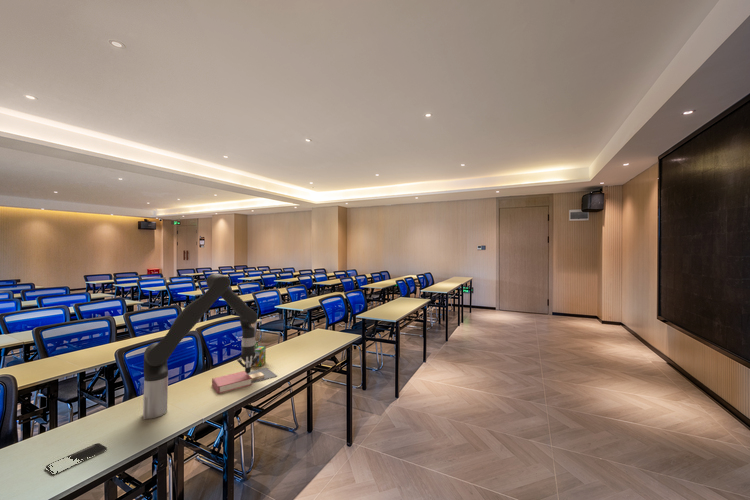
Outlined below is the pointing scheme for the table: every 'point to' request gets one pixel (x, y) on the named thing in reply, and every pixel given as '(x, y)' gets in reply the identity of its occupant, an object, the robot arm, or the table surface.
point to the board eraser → (256, 376)
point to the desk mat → (265, 371)
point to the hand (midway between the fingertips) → (247, 372)
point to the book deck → (231, 382)
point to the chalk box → (260, 355)
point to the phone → (85, 453)
